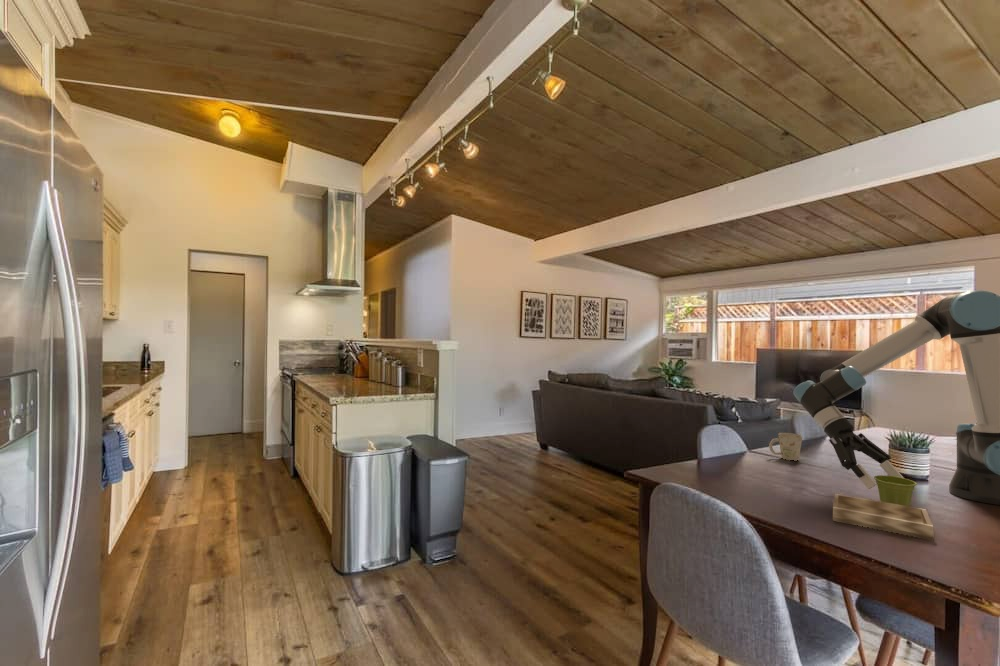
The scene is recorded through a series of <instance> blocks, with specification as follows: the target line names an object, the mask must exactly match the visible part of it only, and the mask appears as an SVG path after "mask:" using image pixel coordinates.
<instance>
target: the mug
mask: <svg viewBox="0 0 1000 666" xmlns="http://www.w3.org/2000/svg"><path fill="white" fill-rule="evenodd" d="M802 441H803V436H802V435H801V434H797V433H791V432H779V433H778V437H777V438H772V439H771V440H770V442H769V444H768V448H769V451H770V452H771V453H772V454H774V455H777V456H778V455H779V456H781V459H782V458H783V460H785V459H786V460H785V461H790V460H794V461H793V462H796V461H797V460H798V461H799V460H800V454H801V448H802ZM776 442H778V443H779V448H780V452H778V451H777V452H776V451H775V450H774V449H773V444H774V443H776Z"/></svg>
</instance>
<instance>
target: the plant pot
mask: <svg viewBox="0 0 1000 666" xmlns="http://www.w3.org/2000/svg"><path fill="white" fill-rule="evenodd" d="M873 480H874V481H875V482H876V483H877V485H876V486H877V491H878V495H879V501H881V502H886V503H892V504H898V505H904V506H910V507H911V502H912V497H913V491H914V490H915V487H916V486H917V484H918V483H917V482H915V481H914V480H911V479H909V478H905V477H904V478H900V477H895V476H889V475H880V474H879V475H875V476H873Z"/></svg>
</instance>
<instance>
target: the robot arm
mask: <svg viewBox="0 0 1000 666" xmlns="http://www.w3.org/2000/svg"><path fill="white" fill-rule="evenodd" d="M947 336H950V339H951V340H952V341H953V342H956V343H957V344H958V345H959V349H960V354H961V358H962V362H963V367H964V371H965V375H966V381H967V384H968V388H969V394H970V397H971V402H972V407H973V410H974V414H975V419H976V420H975V421H976V423H963V422H962V423H959V424H958V425H957V426H956V432H955V435H956V470H955V472H954V473H953V476H952V477H951V478H952V479H951V480H950V482H949V484H948V485H949V486H948V492H949V493H950V494H952V495H954V496H956V497H959V498H963V499H967V500H970V501H974V502H979V503H983V504H990V505H991V504H992V505H999V506H1000V295H998V294H996V293H994V292H991V291H988V290H976V289H975V290H968V291H964V292H959V293H955V294H952V295H949V296H946V297H944V298H942V299H941V300H938V301H937V302H935V304H933V305H932V306H931V307H929V308H927V309H925V310H924V311H923V312H921V313H919V314H918V315H916V316H915V317H914V321H912V322H911V323H909V324H907V325H905V326H903V327H901V328H900V329H898V330H897V331H895V332H893V333H892V334H889V335H888V336H885V338H883V339H881V340H879V341H878V342H876V343H874V344H872V345H870V346H869V347H867V348H865V349H864V350H862V351H860V352H858V353H857V354H855V355H853V356H852V357H850V358H849V359H846V360H845V361H843V362H841V363H840V364H838V365H836V366H834V367H832V368H830V369H827V370H825V371H823V372H822V373H821V375H820V379H819V380H820V381H819V382H817V383H816V382H814V381H813V380H806V381H804V382H801V383H799V384H797V386H796V387H795V388H794V389H793V396H794V397H795V398H796V400H797V401H798V402H799V403H800V405H801V406H802V407H803V408H804V409H805V411H806V412H807V413H808V414H809V415H810V416H811V417H812V418H813V420H814V421H815V422H816V424H817V425H818V426H819V427H820V428H821V429H823V431H824V433H825V435H827V436H828V438H829V439H828V441H829V443H830V444H831V445H832V446H833V450H834V451H835V453H836V456H837V458H838V460H839V462H840V464H841V466H842V467H843V468H845V469H846V470H847V471H849V470H851V471H853V473H854V474H855V475H856V476H857V478H858V479H859V480H860V481H861V483H862V484H863V485H864V486H865V487H866V489H867V490H870V489H872V488H873V487H875V486H877V483H876V480H875V479H874V478H873V477H872V476H871V474H869V473H868V472H867V470H866V469H865V468H864V467H863V466H862V465H861V464H860V463H858V462H857V458H856V453H855V451H857V452H861V453H863V454H864V455H866V456H868V457H869V458H871V459H873V460H874V461H876V462H877V463H879V466H880V467H881V469H882V470H883V471H884V472H885V473H886V474H887V476H895V477H900V478H905V476H903V475H902V474H901V473H900V472H899V470H898V469H897V468H896V467H895V466H894V465H893V464H892V463H891V462H890V461H889V460H892V459H891V455H889V454H888V453H887V452H886V451H884V450H883V449H881V448H880V447H879V446H877V445H876V444H875V443H874V442H872V441H871V440H869V439H868V438H867V437H866V436H865V435H864V434H863V433H862V432H860V433H858V434H857V435H856V433H854V430H855V426H854V425H853V424H852V423H851V422H850V420H848V418H845V415H844V414H843V413H842V412H841V411H840V410H839V408H837V406H836V405H835V404H834V403H835V402H837V401H839V400H840V399H842V398H844V397H847V396H848V395H850V394H852V393H853V392H855V391H858V390H859V389H860V388H863V387H864V386H865V385H866V384H867V380H866V379H865V378H866V377H867V376H869V375H871V374H873V373H874V372H876V371H879V370H880V369H882V368H883V367H886V366H887V365H889V364H890V363H891V364H892V363H893V362H895V361H897V360H898V359H900V358H902V357H904V356H906V355H907V354H908V353H910V352H913V351H914V350H916V349H918V348H920V347H921V346H924V345H926V344H927V343H928V342H930V341H932V340H939V341H940V340H941V339H943V338H945V337H947Z"/></svg>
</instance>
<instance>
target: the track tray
mask: <svg viewBox="0 0 1000 666" xmlns="http://www.w3.org/2000/svg"><path fill="white" fill-rule="evenodd" d="M833 496H834V497H833V504H832V521H833V522H837V523H842V524H848V525H853V526H857V525H858V526H857V527H862V526H863V527H862V528H867V527H869V528H868V529H872V528H873V530H877V529H878V530H877V531H881V530H883V532H886V531H888V532H887V533H891V532H893V533H892V534H896V533H899V534H898V535H901V534H904V535H903V536H906V535H909V536H908V537H911V536H913V537H912V538H916V537H918V538H917V539H921V538H922V540H926V539H927V540H926V541H931V540H932V541H931V542H934V537H935V536H934V535H935V534H934V532H935V531H934V525H933V524H934V523H932V520H931V517H930V516H929V514H928V511H927V509H926V508H921V507H914V506H911V505H910V506H904V505H898V504H892V503H886V502H881V501H880V500H879V501H878V500H874V499H869V498H863V497H857V496H856V497H855V496H851V495H847V494H846V495H845V494H840V493H834V495H833Z"/></svg>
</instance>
